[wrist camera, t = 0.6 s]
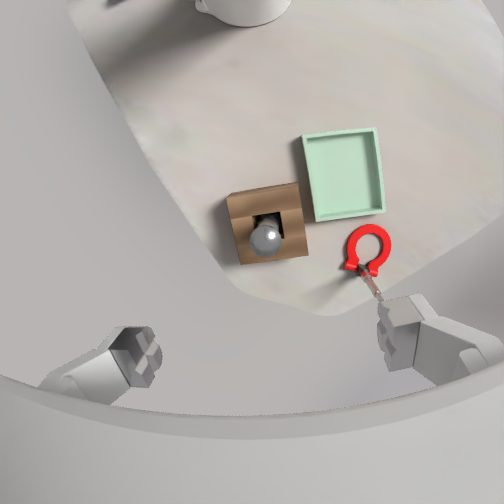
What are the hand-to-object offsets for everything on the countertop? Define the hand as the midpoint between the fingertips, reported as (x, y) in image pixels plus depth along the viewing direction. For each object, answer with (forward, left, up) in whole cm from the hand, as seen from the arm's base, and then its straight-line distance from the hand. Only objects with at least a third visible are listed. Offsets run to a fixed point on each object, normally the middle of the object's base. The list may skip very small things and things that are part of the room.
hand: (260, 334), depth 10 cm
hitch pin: (+6, -3, -40) cm, 40 cm away
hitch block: (+6, -3, -40) cm, 40 cm away
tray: (0, +11, -40) cm, 41 cm away
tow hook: (+14, +14, -40) cm, 45 cm away
